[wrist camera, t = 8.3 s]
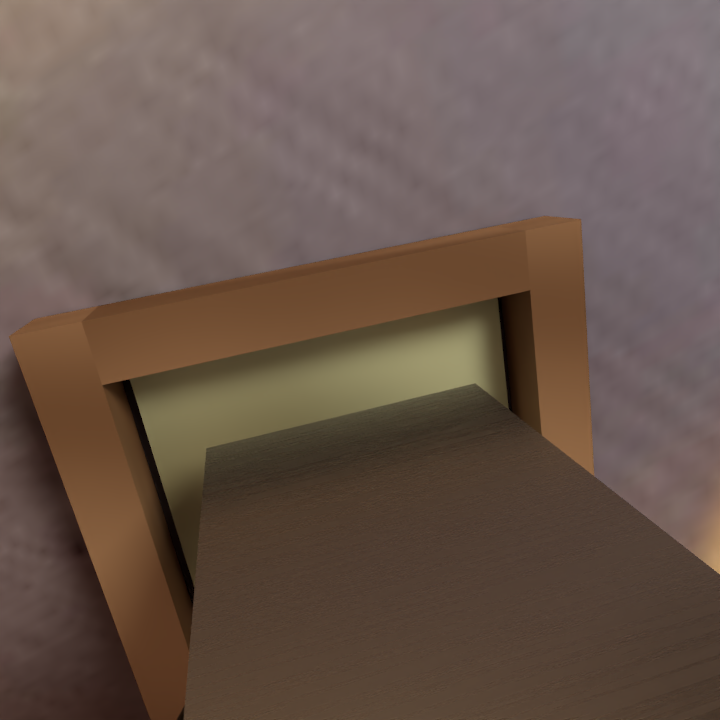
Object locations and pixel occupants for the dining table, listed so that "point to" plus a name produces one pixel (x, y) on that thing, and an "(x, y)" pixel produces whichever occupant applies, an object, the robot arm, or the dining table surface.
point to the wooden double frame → (288, 389)
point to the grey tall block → (439, 579)
